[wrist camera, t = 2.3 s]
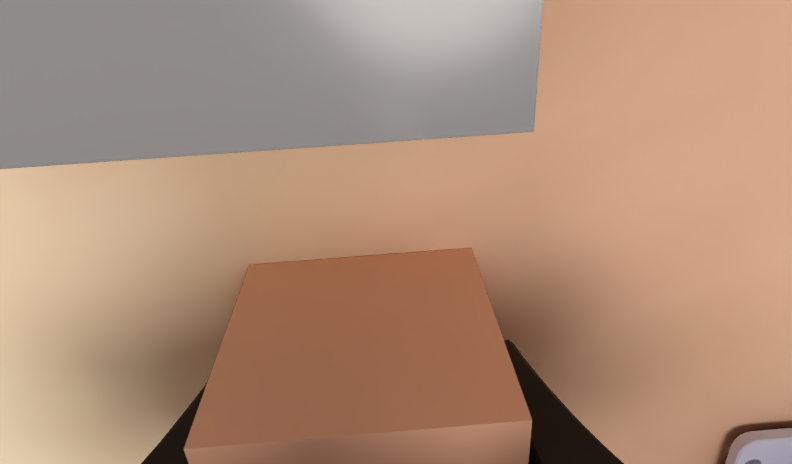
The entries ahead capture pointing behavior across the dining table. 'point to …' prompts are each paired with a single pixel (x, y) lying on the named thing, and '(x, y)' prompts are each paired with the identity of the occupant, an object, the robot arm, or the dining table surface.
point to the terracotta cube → (363, 368)
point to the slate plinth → (257, 75)
